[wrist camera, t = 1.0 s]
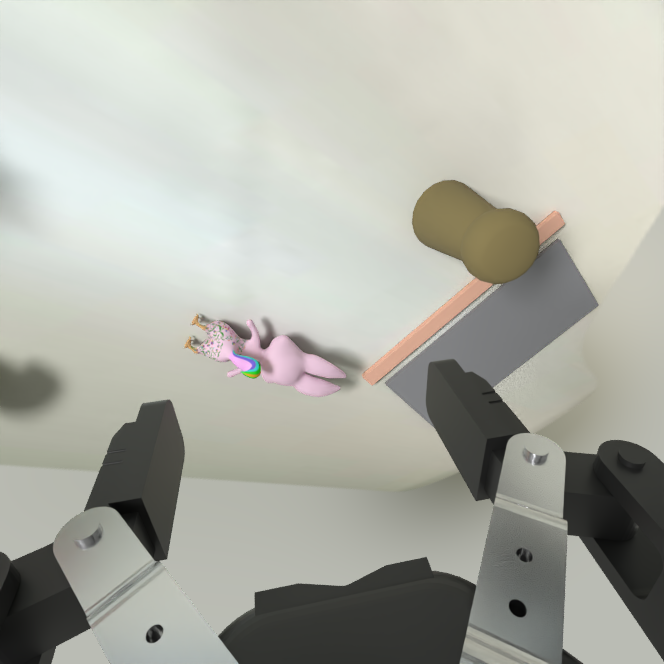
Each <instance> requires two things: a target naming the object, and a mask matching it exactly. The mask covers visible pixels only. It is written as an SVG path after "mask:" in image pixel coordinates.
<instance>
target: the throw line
mask: <svg viewBox="0 0 664 664" xmlns="http://www.w3.org/2000/svg"><path fill="white" fill-rule="evenodd" d="M564 224H565V223H564V221H563V219H562V217H561V216H560V214H559V212H556V211H554V212H552V213H551V214H550V215H549V216H548V217H546V218H545V219H544V220H543V221H542V222H541V223H539V224H538V225H537V226H536V227H537V230H538V232H539V241H540V245H541V244H542V243H543V242H544V241H545V240H547V239H548V238H549V237H550V236H551V235H553V234H554V233H555V232H556V231H557V230H558V229H560V228H561V227H562V226H563V225H564ZM492 285H493V284H491V283H487V282H483V281H480V280H479V279H477V278H475V279H474V280H472V281H471V282H470V283H469V284H468V285H467V286H465V287H464V288H463V289H462V290H461V291H460V292H458V293H457V294H456V295H455V296H454V297H452V298H451V299H450V300H449V301H448V302H447V303H445V304H444V305H443V306H442V307H441V308H440V309H438V310H437V311H436V312H435V313H434V314H433V315H431V316H430V317H429V318H428V319H427V320H425V321H424V322H423V323H422V324H421V325H420V326H418V327H417V328H416V329H415V330H414V331H413V332H411V333H410V334H409V335H408V336H407V337H405V338H404V339H403V340H402V341H401V342H400V343H398V344H397V345H396V346H395V347H394V348H393V349H391V350H390V351H389V352H388V353H387V354H386V355H384V356H383V357H382V358H381V359H380V360H378V361H377V362H376V363H375V364H374V365H373V366H371V367H370V368H369V369H368V370H367V371H366V372H364V373H363V374H362V376H363V378H364V379H365V380H366V381H368V382H369V383H370V384H371V385H374V384H375V383H376V382H377V381H378V380H380V379H381V378H382V377H383V376H384V375H386V374H387V373H388V372H389V371H390V370H391V369H393V368H394V367H395V366H396V365H397V364H399V363H400V362H401V361H402V360H403V359H405V358H406V357H407V356H408V355H409V354H411V353H412V352H413V351H414V350H415V349H417V348H418V347H419V346H420V345H421V344H422V343H424V342H425V341H426V340H427V339H428V338H430V337H431V336H432V335H433V334H434V333H436V332H437V331H438V330H439V329H440V328H442V327H443V326H444V325H445V324H446V323H448V322H449V321H450V320H451V319H452V318H454V317H455V316H456V315H457V314H458V313H459V312H461V311H462V310H463V309H464V308H465V307H467V306H468V305H469V304H470V303H471V302H473V301H474V300H475V299H476V298H477V297H479V296H480V295H481V294H482V293H483V292H485V291H486V290H487V289H488V288H489V287H490V286H492Z"/></svg>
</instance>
